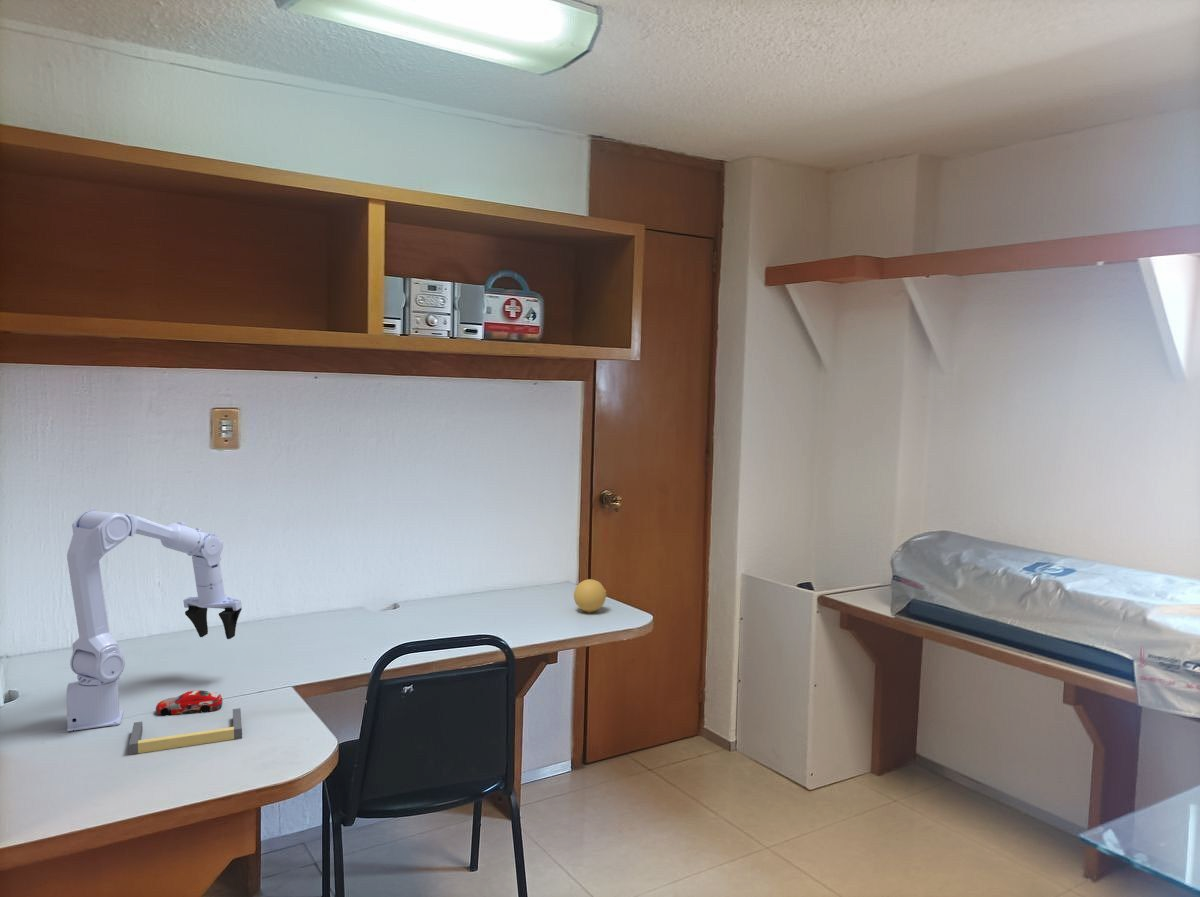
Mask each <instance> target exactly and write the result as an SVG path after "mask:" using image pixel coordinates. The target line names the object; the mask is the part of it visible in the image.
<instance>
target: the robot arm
mask: <svg viewBox="0 0 1200 897" xmlns="http://www.w3.org/2000/svg"><path fill="white" fill-rule="evenodd" d="M71 527H72V536H71V539H70V543H69V547H68V550H67V553H66V560H67V568H68V574H69V579H70V586H71V591H72V592H71V593H72V598H73V605H74V606H73V607H74V613H75V619H76V625H77V626H76V627H77V632H78V639H76V640H75V641H74V642H73V643H72V644H71V647H72V654H71V658H70V662H69V663H70V664H69V665H70V666H69V667H70V669H71V671H72V672H73V673H74V674H76V675H77V676H76V677H77V681H73V682H69V683H67V687H66V695H65V696H66V697H65V698H66V699H65V703H66V719H67V721H66V722H67V724H66V726H67V731H66V732H72V731H73V730H74V731H80V730H89V729H95V728H103V727H110V726H117V725H120V724H121V723H122V722H121V721H122V718H123V715H124V714H123V713H124V709H123V708H120V694H119V690H120V689H119V680H120V676H121V675H122V673H123V672H124V670H125V667H126V659H125V657H124V654H122V652H121V650H120V648H119V642H117V640H116V639H115V638H114V637H113V635H112V634H111V632H110V628H109V621H108V615H107V607H106V601H105V600H106V599H105V594H104V586H103V579H102V573H101V568H100V567H101V565H100V560H101V559H102V558H103V557H104V555H106V554H107V553H108V552H110V551H111V550H113V549H114V548H116V547H117V546H118V545H120V544H121V543H122V542H124V541H125V540H126V539H127V538H128V537H134V536H135V534H138V535H140V536H144V537H149V538H152V539H157V540H159V541H160V543H161V545H162V547H165V548H166V549H168V550H169V549H170V550H173V551H177V552H179V553H184V554H187V555H188V556H189V557H191V559H192V567H193V573H194V580H195V586H196V593H197V596H189V597H187V598H185V599H183V607H184V609H185V608H186V609H187V610H184V611H185V612H184V615H185V616H186V617H187V618H188V619H189V621H191V623H192V625H193V626H194V628H195V630H196V632H197V634H198V636H199V638H203V637H205V636H207V635H208V633H209V627H208V620H207V619H208V609H224V610H222V611H220V612H219V613H218V616H219V618H220V620H221V622H222V625H223V627H224V633H225V637H226V639H227V640H231V639H232V638H234V637H235V636H236V628H237V623H238V619H239V616H240V614H241V611H242V609H243V606H242V600H241V599H236V598H232V597H229V596H227V594H225V589H224V581H223V577H222V576H223V575H222V569H221V561H222V558H221V555H222V551H223V548H224V542H222V541H221V538H220V537H219V536H218V535H217V534H215V533H210V532H209V533H208V532H203V529H202V528H199V527H195V528H192V527H189V526H187V523H186V522H183V521H177V522H172V523H169V524H167V525H164V524H161V523H158V522H155V521H152V520H150V519H147V518H144V517H141V516H138V515H135V514H127V513H121V512H109V511H101V510H97V509H88V510H85V511H84V512H82V513H81V514H79V516H78V517H77V518H76V519H75V520H74V521H73V523H72V524H71ZM74 731H73V732H74Z"/></svg>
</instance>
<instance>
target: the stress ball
mask: <svg viewBox="0 0 1200 897" xmlns="http://www.w3.org/2000/svg"><path fill="white" fill-rule="evenodd" d="M606 598H607V590H606V589H605V587H604V586H603V585H602V582H601V581H598V580H595V579H593V578H592V579H590V578H588V579H585V580H582V581H581V582H579V583H578V585H576V586H575V589H574V592H573V600H574V603H575V604H576V606H577V607H578V608H579V609H581V611H583V612H585V613H590V614H591V613H592V614H593V613H594V612H595V611H598V610H600V609H601V608H602V607H603V606H604V603H605V602H606Z"/></svg>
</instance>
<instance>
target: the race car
mask: <svg viewBox="0 0 1200 897" xmlns="http://www.w3.org/2000/svg"><path fill="white" fill-rule="evenodd" d="M223 704H224V703H223V697H222V694H221V693H219V692H215V691H211V690H190V691H186V692H184V693H182V694H180V695H177V696H175V697H170V698H165V699H163V700H161V701H159V702H157V704H156V707H155V711H156V714H157V715H161V716H162V717H166V715H169V716H170V715H181V714H183V715H184V714H193V713H202V712H203V713H210V712H212V711H215V710H218V709H220V708H221V707H222V705H223Z"/></svg>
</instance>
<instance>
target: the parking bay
mask: <svg viewBox="0 0 1200 897" xmlns="http://www.w3.org/2000/svg"><path fill="white" fill-rule="evenodd" d="M241 710H242V709H241V707H237V708H233V709H232V725H233V726H230V727H223V728H222V727H221V728H216V729H209V730H201V731H194V732H188V733H182V734H181V733H180V734H174V735H168V736H167V735H165V736H159V737H154V738H146V739H145V738H144V739H142V736H143V731H144V730H143V729H144V728H143V727H144V726H143V721H137V722H135V721H134V722H133V725H132V729H131V733H130V739H129V744H128V752H129V755H137V754H143V753H149V752H157V751H164V750H170V749H177V748H184V747H192V746H197V745H198V746H199V745H205V744H210V743H218V742H223V741H233V740H239V739H243V723H242V714H241V712H242V711H241Z"/></svg>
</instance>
